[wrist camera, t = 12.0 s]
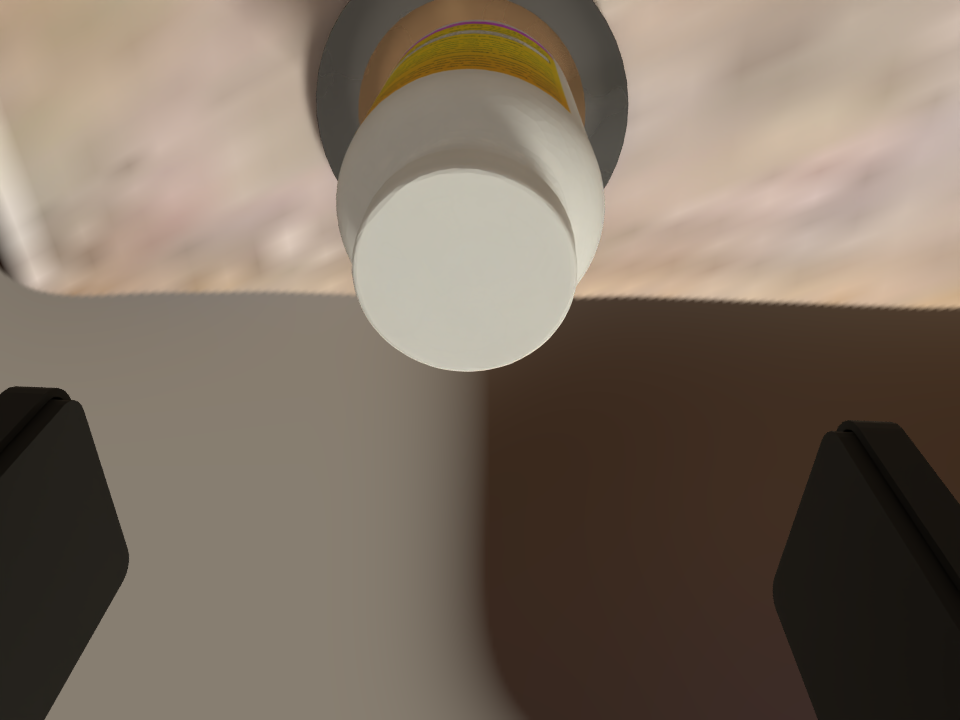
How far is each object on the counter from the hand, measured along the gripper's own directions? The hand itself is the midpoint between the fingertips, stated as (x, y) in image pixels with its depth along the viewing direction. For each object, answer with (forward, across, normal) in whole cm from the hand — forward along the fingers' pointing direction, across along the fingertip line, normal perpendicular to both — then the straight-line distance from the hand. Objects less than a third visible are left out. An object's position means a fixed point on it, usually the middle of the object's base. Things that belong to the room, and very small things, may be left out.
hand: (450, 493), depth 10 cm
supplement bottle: (+20, 0, 0) cm, 20 cm away
